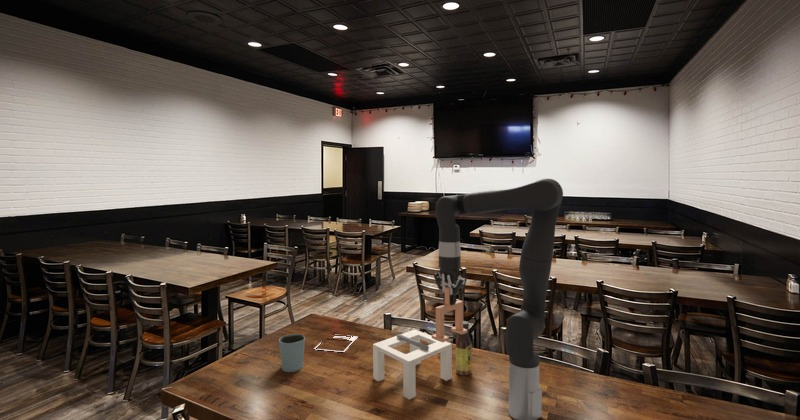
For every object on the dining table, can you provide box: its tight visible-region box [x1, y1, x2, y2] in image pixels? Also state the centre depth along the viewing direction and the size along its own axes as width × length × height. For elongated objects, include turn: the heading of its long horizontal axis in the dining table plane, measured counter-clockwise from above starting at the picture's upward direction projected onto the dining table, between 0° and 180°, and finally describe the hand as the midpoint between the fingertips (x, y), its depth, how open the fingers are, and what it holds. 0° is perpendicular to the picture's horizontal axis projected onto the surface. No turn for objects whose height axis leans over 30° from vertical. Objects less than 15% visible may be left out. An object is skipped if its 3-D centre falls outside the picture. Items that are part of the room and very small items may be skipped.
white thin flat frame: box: [313, 335, 359, 353], centre depth 186 cm, size 15×1×18 cm
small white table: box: [372, 329, 453, 400], centre depth 152 cm, size 22×20×15 cm
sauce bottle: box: [455, 320, 473, 376], centre depth 156 cm, size 6×6×20 cm
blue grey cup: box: [278, 333, 306, 373], centre depth 162 cm, size 10×10×12 cm
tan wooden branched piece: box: [431, 287, 467, 342], centre depth 139 cm, size 13×5×17 cm, turn 132°
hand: (449, 303), depth 138 cm, fingers closed on tan wooden branched piece
